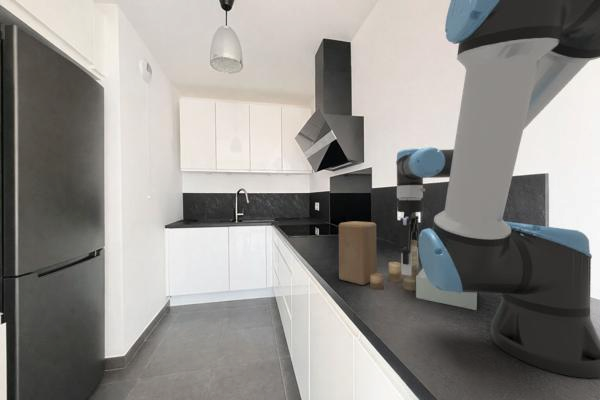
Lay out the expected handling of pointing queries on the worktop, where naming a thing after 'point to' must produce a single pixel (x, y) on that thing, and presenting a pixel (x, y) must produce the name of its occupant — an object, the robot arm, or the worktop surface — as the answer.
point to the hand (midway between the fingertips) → (410, 270)
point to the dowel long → (410, 281)
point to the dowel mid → (395, 272)
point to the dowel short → (376, 281)
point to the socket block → (443, 294)
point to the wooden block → (357, 251)
